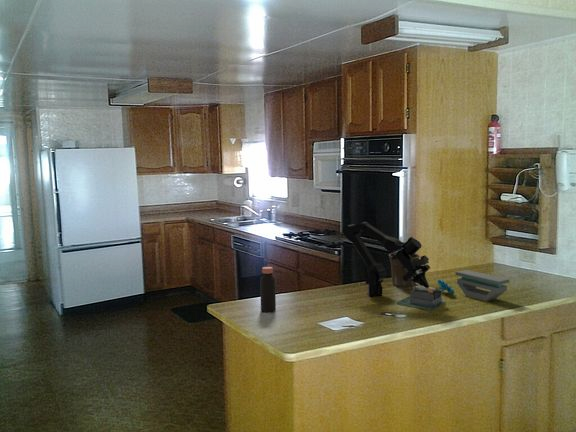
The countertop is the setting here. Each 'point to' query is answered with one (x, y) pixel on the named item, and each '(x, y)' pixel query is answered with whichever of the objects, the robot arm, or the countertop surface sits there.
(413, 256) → the plant pot
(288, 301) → the countertop surface
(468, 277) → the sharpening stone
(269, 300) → the bottle
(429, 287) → the retention strap
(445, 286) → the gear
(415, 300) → the heatsink board
